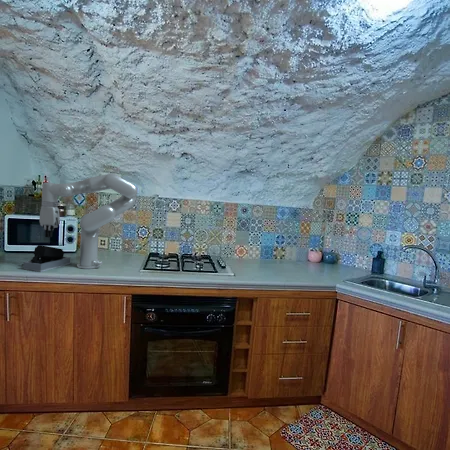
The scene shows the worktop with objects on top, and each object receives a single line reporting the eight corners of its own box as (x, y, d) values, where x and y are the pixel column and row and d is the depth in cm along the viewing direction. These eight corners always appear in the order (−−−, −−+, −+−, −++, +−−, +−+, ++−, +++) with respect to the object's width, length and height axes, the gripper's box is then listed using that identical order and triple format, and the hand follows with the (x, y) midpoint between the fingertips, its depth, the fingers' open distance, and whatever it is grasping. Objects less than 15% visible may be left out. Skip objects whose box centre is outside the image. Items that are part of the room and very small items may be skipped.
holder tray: (70, 264, 191) (70, 257, 190) (40, 271, 169) (40, 264, 169) (54, 261, 193) (54, 255, 193) (23, 269, 172) (23, 262, 171)
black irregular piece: (26, 261, 172) (31, 243, 173) (52, 264, 189) (56, 248, 191) (37, 263, 170) (41, 245, 172) (61, 266, 187) (65, 249, 189)
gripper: (65, 205, 180) (64, 237, 182) (43, 203, 183) (42, 235, 185) (55, 206, 173) (55, 239, 174) (33, 203, 176) (32, 236, 178)
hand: (48, 237), depth 180 cm, fingers closed
